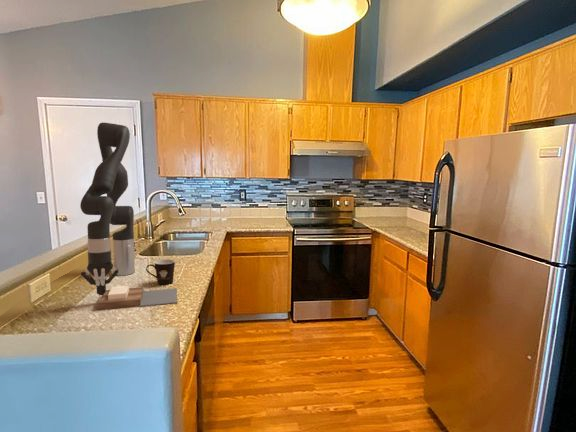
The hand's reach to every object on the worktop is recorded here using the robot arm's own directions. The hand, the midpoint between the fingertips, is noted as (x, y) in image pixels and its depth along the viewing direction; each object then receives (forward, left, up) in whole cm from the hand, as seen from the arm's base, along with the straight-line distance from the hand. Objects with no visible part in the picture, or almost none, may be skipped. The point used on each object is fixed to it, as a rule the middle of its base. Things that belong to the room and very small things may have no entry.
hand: (101, 294), depth 121 cm
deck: (0, +7, -3) cm, 8 cm away
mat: (0, +21, -3) cm, 21 cm away
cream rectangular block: (0, +6, -1) cm, 6 cm away
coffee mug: (-18, +21, -4) cm, 28 cm away
